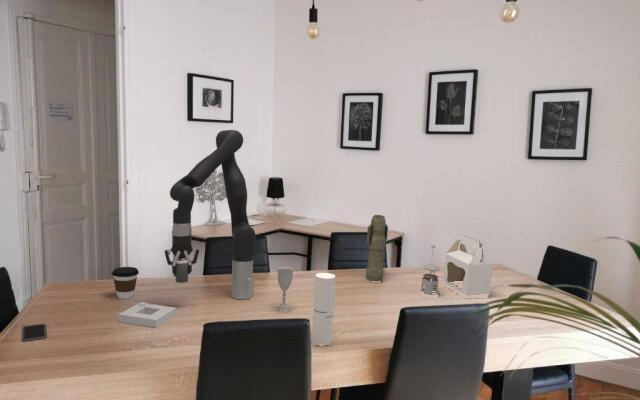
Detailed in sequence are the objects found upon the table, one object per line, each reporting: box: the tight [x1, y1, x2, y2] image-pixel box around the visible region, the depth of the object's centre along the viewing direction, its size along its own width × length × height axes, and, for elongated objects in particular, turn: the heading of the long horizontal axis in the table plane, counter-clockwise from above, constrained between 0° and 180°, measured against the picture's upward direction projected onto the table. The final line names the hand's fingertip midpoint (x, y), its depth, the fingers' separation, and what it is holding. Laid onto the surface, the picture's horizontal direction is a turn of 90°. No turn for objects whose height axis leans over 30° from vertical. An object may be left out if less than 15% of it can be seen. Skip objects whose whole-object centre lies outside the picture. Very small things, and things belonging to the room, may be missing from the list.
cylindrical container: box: [311, 272, 336, 345], centre depth 173 cm, size 7×7×25 cm
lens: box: [175, 258, 189, 284], centre depth 197 cm, size 5×5×10 cm
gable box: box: [442, 234, 493, 296], centre depth 244 cm, size 22×13×28 cm, turn 16°
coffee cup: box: [111, 266, 140, 300], centre depth 209 cm, size 11×11×12 cm
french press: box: [420, 245, 441, 295], centre depth 236 cm, size 10×12×25 cm
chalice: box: [276, 266, 295, 313], centre depth 204 cm, size 7×7×18 cm
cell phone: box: [21, 323, 48, 343], centre depth 169 cm, size 7×14×1 cm, turn 31°
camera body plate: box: [118, 301, 177, 328], centre depth 187 cm, size 16×14×4 cm
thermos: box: [365, 214, 389, 281], centre depth 254 cm, size 9×12×35 cm
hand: (181, 273), depth 198 cm, fingers closed on lens, 5 cm apart
